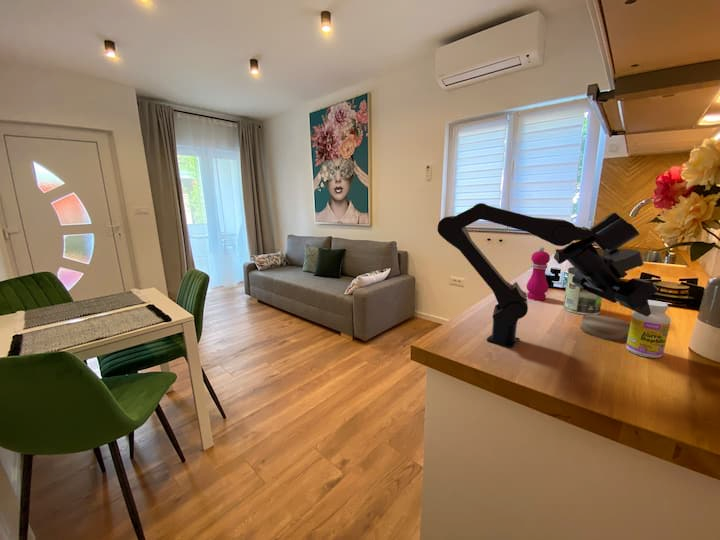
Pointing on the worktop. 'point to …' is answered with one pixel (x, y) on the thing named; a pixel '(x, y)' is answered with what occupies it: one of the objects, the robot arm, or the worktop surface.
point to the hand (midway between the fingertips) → (631, 307)
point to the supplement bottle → (649, 331)
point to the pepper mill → (538, 276)
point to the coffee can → (580, 298)
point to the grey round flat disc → (605, 327)
